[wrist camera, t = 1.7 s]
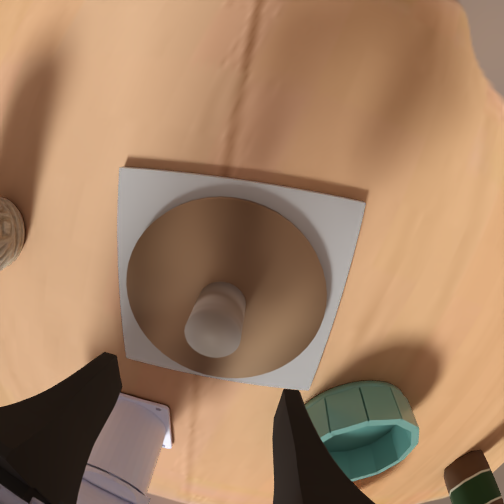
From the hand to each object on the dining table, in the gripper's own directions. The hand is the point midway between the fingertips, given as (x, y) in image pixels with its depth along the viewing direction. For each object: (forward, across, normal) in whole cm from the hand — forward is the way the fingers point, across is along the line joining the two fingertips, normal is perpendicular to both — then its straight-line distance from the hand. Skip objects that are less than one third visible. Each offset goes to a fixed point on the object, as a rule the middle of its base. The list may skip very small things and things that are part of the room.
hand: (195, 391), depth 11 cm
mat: (+9, 0, 0) cm, 9 cm away
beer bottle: (+9, -40, +27) cm, 49 cm away
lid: (+8, 0, 0) cm, 8 cm away
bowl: (+9, -13, +12) cm, 20 cm away
